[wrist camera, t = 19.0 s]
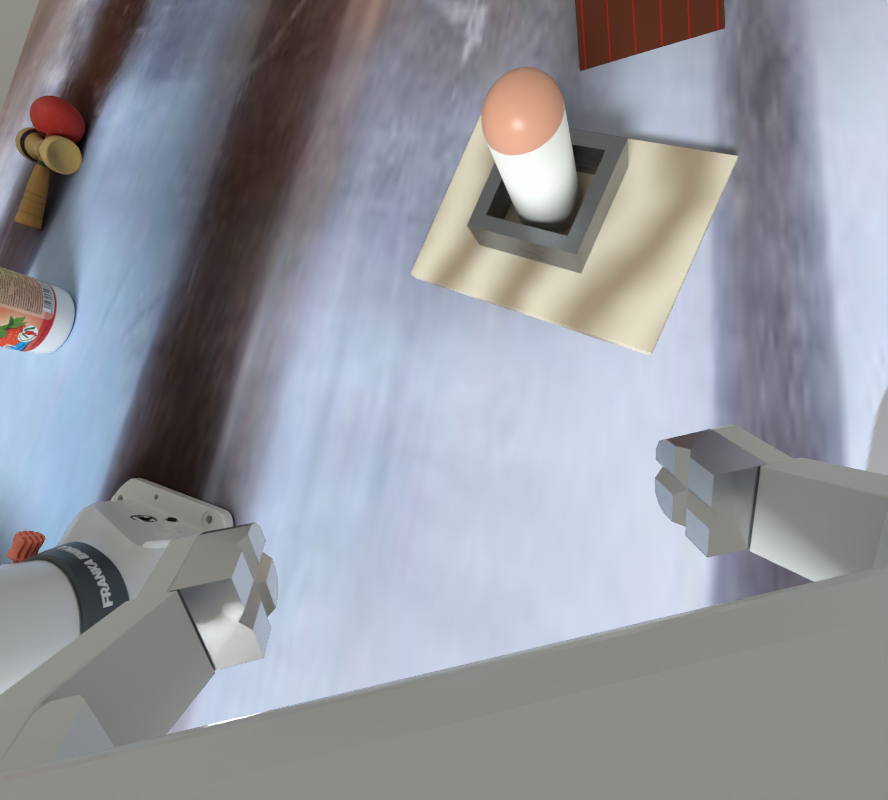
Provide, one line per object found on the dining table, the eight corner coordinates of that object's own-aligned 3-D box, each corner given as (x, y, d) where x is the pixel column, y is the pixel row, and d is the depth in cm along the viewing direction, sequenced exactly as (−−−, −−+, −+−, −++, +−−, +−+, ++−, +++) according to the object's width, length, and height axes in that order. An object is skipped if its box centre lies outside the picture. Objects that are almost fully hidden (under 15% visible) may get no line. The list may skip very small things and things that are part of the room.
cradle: (479, 245, 42) (466, 225, 39) (522, 147, 42) (513, 119, 39) (581, 273, 39) (576, 254, 36) (628, 166, 39) (628, 137, 36)
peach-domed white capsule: (517, 240, 41) (467, 134, 29) (521, 184, 42) (474, 56, 29) (580, 234, 39) (555, 118, 27) (583, 175, 40) (561, 35, 28)
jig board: (415, 277, 45) (410, 273, 45) (483, 122, 45) (480, 115, 45) (651, 356, 37) (651, 352, 36) (735, 164, 37) (738, 155, 36)
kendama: (67, 239, 69) (98, 112, 67) (10, 221, 64) (41, 83, 62) (50, 231, 73) (79, 111, 71) (-5, 214, 68) (25, 84, 66)
